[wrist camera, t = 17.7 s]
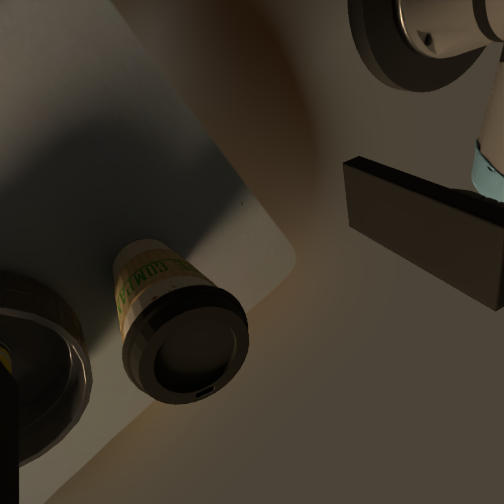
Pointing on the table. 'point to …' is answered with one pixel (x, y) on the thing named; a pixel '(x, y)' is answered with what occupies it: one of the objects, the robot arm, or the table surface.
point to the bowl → (43, 363)
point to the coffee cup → (175, 325)
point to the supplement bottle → (6, 357)
